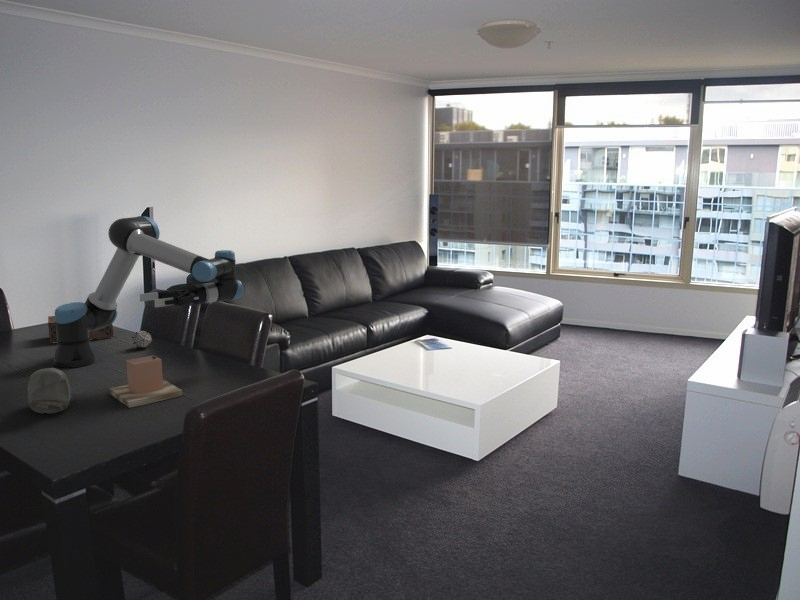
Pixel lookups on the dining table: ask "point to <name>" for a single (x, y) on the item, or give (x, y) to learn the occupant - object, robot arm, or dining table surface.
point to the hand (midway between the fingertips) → (147, 300)
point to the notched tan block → (144, 374)
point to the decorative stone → (48, 391)
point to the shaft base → (145, 395)
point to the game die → (142, 339)
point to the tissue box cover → (96, 334)
